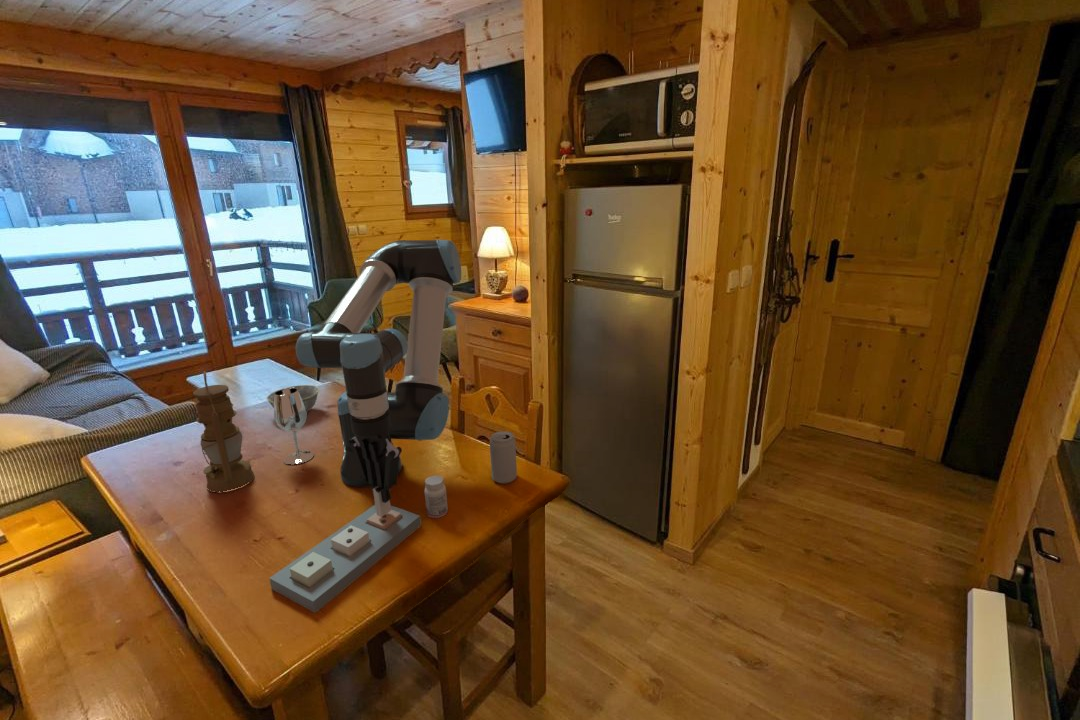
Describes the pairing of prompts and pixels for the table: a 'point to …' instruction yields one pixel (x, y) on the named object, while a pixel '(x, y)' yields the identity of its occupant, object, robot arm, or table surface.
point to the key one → (311, 569)
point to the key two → (350, 541)
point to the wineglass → (291, 420)
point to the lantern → (221, 439)
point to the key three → (384, 520)
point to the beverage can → (503, 457)
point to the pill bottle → (435, 496)
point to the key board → (345, 560)
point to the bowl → (306, 393)
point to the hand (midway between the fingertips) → (383, 512)
